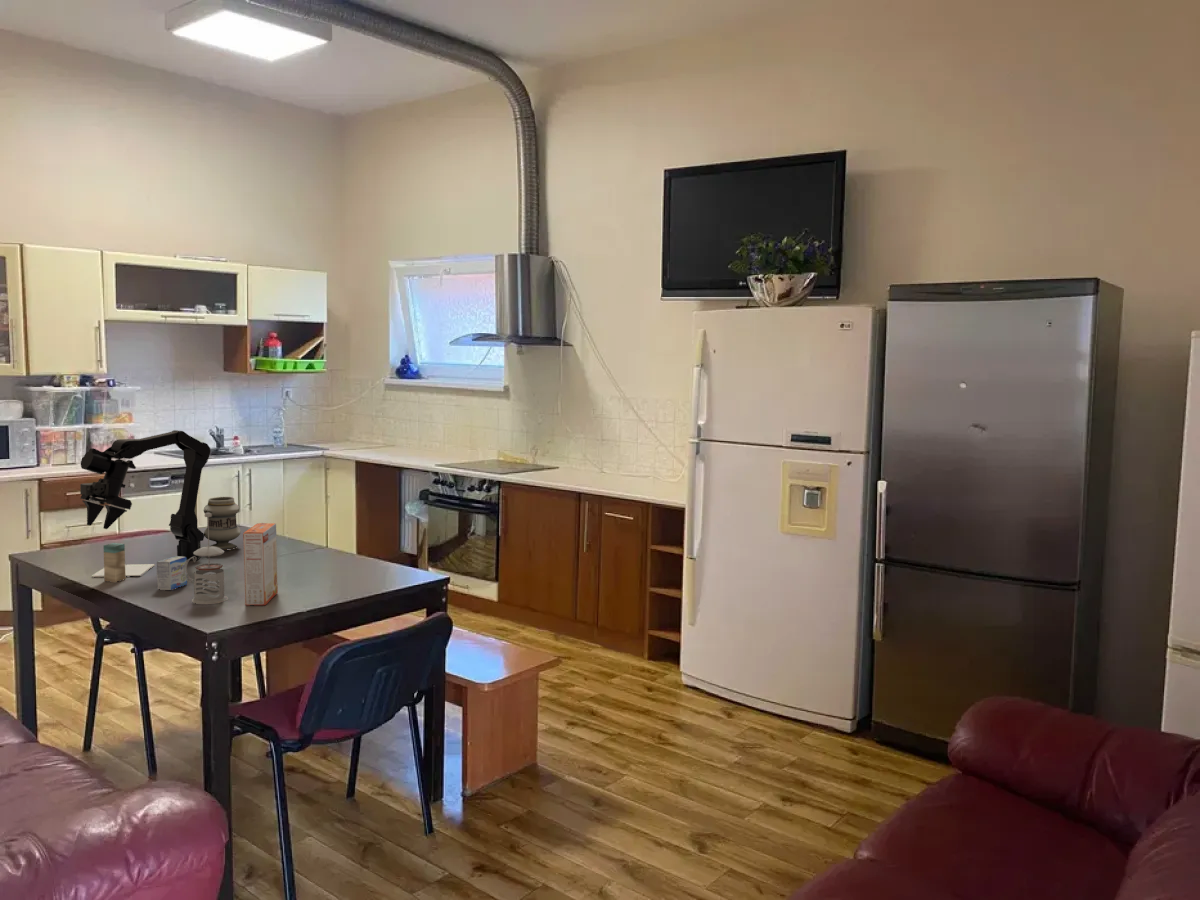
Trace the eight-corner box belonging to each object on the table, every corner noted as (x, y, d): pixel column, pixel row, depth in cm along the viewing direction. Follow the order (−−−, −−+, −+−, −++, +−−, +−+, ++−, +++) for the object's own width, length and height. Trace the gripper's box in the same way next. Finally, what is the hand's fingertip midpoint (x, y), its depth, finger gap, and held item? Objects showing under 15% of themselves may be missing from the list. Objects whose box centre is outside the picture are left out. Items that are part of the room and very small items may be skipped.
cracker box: (257, 593, 274) (256, 522, 272) (278, 593, 274) (277, 522, 272) (243, 606, 260) (242, 531, 258) (265, 606, 261) (264, 531, 258)
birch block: (114, 578, 287) (113, 543, 286) (125, 579, 286) (124, 544, 285) (104, 581, 283) (103, 545, 282) (115, 582, 282) (114, 546, 281)
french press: (222, 604, 261) (220, 515, 259) (178, 604, 260) (176, 515, 258) (232, 595, 271) (231, 509, 269) (191, 595, 270) (189, 509, 268)
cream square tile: (154, 566, 305) (154, 564, 304) (140, 576, 290) (140, 575, 290) (108, 566, 302) (108, 564, 302) (91, 577, 287) (91, 575, 287)
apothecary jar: (196, 550, 329) (195, 499, 327) (217, 544, 341) (217, 494, 339) (227, 552, 326) (226, 501, 325) (247, 546, 338) (246, 496, 336)
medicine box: (170, 591, 274) (169, 562, 273) (157, 590, 275) (156, 561, 274) (187, 585, 282) (187, 556, 281) (174, 583, 283) (173, 555, 282)
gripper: (73, 468, 291) (55, 517, 288) (106, 473, 281) (88, 524, 278) (106, 478, 300) (89, 525, 297) (140, 484, 290) (123, 533, 287)
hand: (96, 527), depth 289 cm, fingers open, 9 cm apart
